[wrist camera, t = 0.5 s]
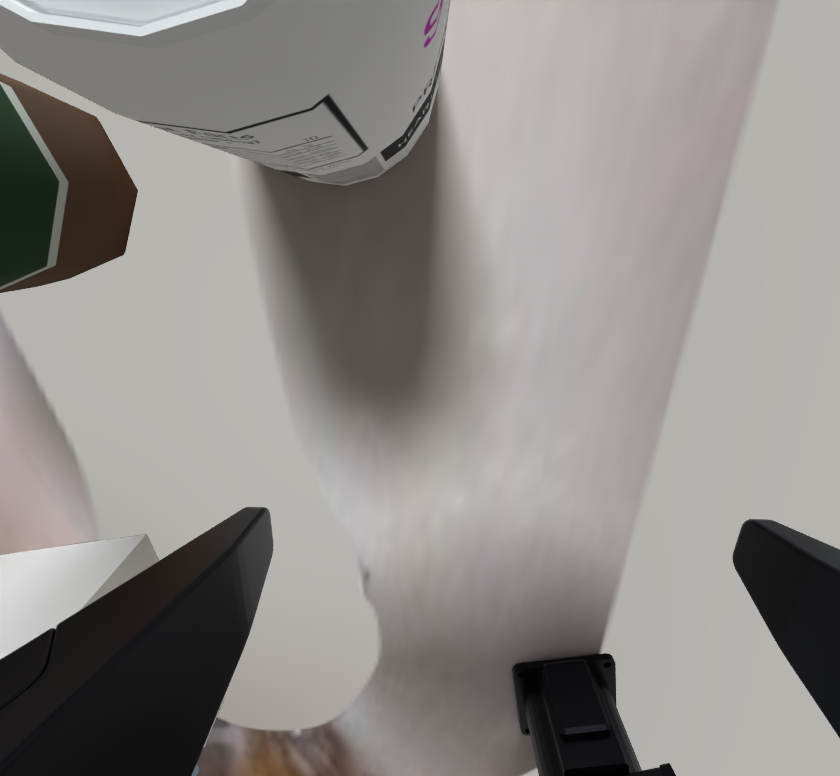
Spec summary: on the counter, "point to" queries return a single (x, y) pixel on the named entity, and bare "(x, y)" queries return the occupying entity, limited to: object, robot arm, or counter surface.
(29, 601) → the white stepped block
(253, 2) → the supplement can
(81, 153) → the beer bottle
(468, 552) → the counter surface
